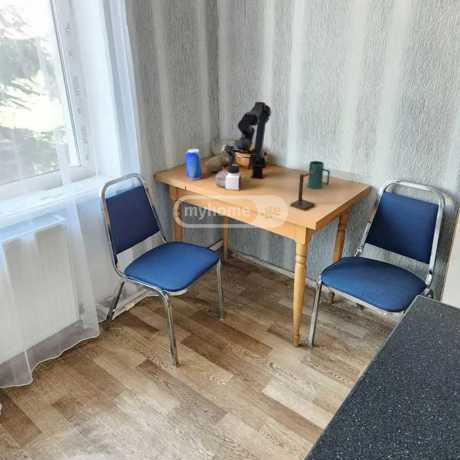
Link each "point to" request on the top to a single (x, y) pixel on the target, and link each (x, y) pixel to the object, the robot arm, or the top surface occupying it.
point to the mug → (317, 175)
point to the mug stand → (300, 202)
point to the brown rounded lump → (216, 163)
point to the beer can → (193, 164)
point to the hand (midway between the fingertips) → (239, 168)
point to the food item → (222, 177)
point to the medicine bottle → (233, 178)
